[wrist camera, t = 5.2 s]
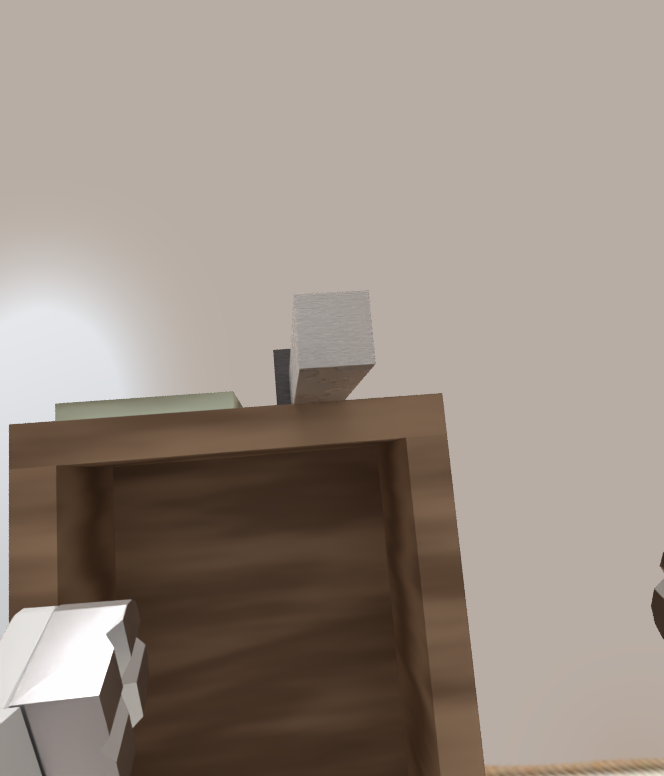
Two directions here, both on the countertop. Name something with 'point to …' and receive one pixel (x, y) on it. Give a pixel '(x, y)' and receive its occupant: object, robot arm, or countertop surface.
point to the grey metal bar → (325, 348)
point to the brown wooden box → (262, 576)
